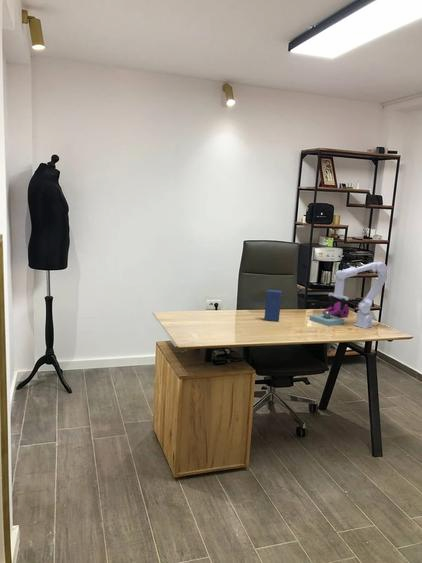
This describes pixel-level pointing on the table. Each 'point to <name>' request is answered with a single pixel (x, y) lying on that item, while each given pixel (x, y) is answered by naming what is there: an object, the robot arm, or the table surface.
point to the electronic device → (273, 305)
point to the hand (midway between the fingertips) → (337, 308)
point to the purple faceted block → (338, 310)
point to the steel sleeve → (327, 314)
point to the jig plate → (327, 320)
